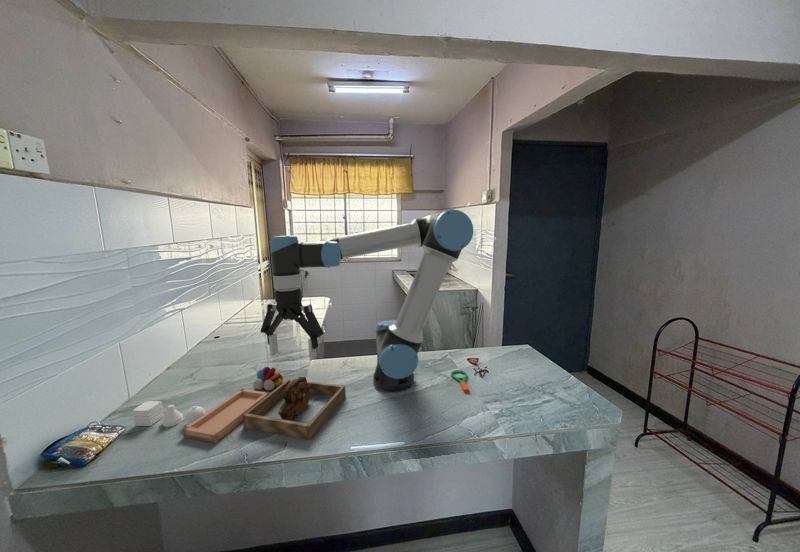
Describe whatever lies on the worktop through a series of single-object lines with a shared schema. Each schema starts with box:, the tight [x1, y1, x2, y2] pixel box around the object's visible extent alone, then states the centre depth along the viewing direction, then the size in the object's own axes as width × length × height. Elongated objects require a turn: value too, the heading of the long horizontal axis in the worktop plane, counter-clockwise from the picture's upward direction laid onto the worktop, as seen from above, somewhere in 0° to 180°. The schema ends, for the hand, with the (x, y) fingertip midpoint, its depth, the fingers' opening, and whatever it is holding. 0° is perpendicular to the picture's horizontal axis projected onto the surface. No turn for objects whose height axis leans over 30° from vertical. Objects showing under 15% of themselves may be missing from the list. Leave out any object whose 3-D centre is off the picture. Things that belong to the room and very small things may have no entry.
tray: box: [182, 388, 270, 444], centre depth 96 cm, size 11×22×2 cm, turn 164°
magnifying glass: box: [450, 369, 470, 394], centre depth 113 cm, size 15×6×2 cm, turn 2°
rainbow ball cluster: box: [253, 366, 284, 391], centre depth 114 cm, size 8×10×7 cm
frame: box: [242, 378, 347, 441], centre depth 98 cm, size 22×22×4 cm
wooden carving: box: [277, 376, 312, 421], centre depth 97 cm, size 16×5×10 cm, turn 173°
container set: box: [131, 400, 206, 428], centre depth 94 cm, size 20×5×6 cm, turn 87°
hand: (293, 356), depth 95 cm, fingers open, 13 cm apart
